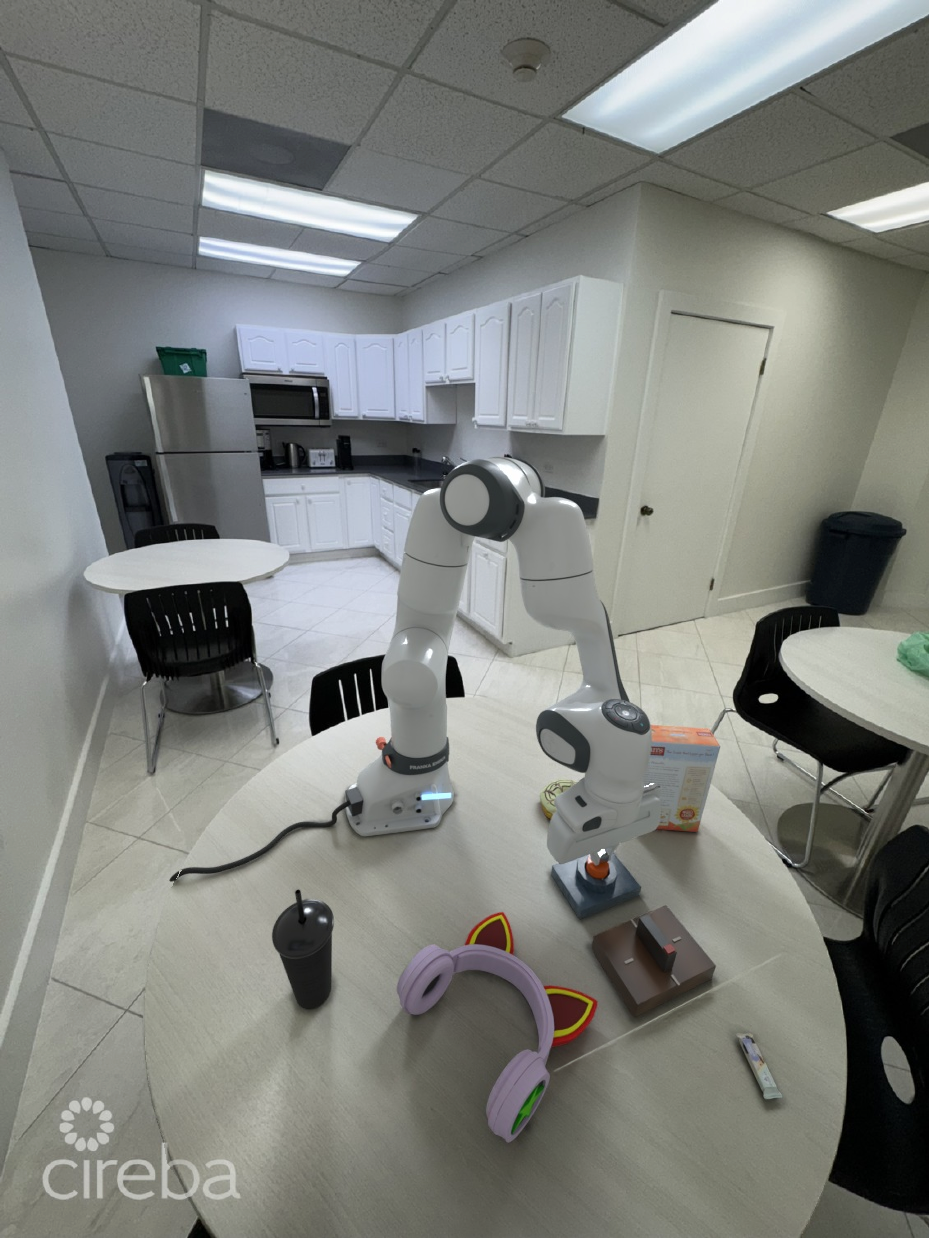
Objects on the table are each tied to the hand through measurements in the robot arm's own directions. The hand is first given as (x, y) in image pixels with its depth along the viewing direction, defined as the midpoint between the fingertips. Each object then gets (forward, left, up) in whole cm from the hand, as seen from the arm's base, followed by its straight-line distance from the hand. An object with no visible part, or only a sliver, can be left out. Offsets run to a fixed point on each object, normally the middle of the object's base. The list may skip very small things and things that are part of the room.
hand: (600, 860), depth 83 cm
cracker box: (+21, +8, -6) cm, 23 cm away
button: (0, 0, -2) cm, 2 cm away
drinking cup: (-47, 0, -6) cm, 48 cm away
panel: (0, -14, -6) cm, 15 cm away
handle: (0, -14, -3) cm, 14 cm away
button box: (0, 0, -6) cm, 6 cm away
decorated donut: (+5, +17, -6) cm, 19 cm away
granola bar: (+4, -29, -6) cm, 30 cm away
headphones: (-24, -12, -6) cm, 28 cm away
